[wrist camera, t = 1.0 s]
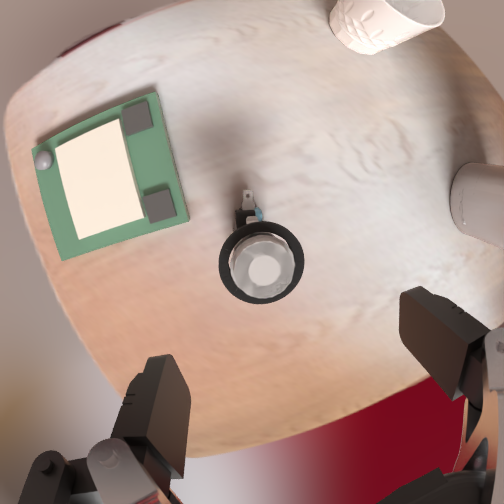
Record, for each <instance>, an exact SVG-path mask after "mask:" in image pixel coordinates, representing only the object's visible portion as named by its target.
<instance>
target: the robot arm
mask: <svg viewBox="0 0 504 504" xmlns="http://www.w3.org/2000/svg"><path fill="white" fill-rule="evenodd" d="M450 206H451V213H452V217H453V220H454V222H455V224H456V226H457V228H458V229H459V230H460V231H461V232H462V233H464V234H467V235H469V236H472V237H474V238H477V239H480V240H482V241H484V242H487V243H489V244H492V245H494V246H496V247H499V248H501V249H504V166H499V165H492V164H482V163H467V164H465V165H463V166H462V167H461V168H460V169H459V171H458V172H457V174H456V176H455V179H454V181H453V185H452V189H451V197H450ZM399 334H400V338H401V340H402V342H403V344H404V345H405V347H406V348H407V349H408V350H409V351H410V352H411V353H412V354H413V356H414V357H415V358H416V359H417V360H418V361H419V362H420V364H421V365H422V366H423V367H424V368H425V369H426V370H427V372H428V373H429V374H430V375H431V376H432V377H433V379H434V380H435V381H436V382H437V383H438V384H439V386H440V387H441V388H442V389H443V391H444V392H445V393H446V394H447V395H448V397H449V398H450V399H451V400H452V401H453V400H455V399H456V398H458V397H460V396H461V395H463V394H464V395H465V396H466V397H467V398H466V401H465V406H464V420H463V432H462V440H461V448H460V452H459V455H458V458H457V461H456V463H455V466H454V469H453V472H452V473H447V474H444V475H443V474H442V472H441V470H440V469H439V467H438V468H436V469H435V470H433V471H431V472H429V473H427V474H426V475H424V476H422V477H420V478H418V479H416V480H414V481H412V482H410V483H408V484H406V485H403V486H401V487H399V488H398V489H397V490H395V491H394V492H393V493H391V494H390V495H388V496H387V497H385V498H384V499H382V500H381V501H379V502H378V503H376V504H504V328H497V329H494V330H490V329H488V328H487V327H486V326H484V325H483V324H482V323H481V322H479V321H478V320H477V319H475V318H474V317H473V316H471V315H470V314H468V313H467V312H464V310H463V309H462V308H460V307H459V306H458V307H457V305H456V304H455V303H453V302H452V301H450V300H449V299H448V298H445V297H442V296H439V295H436V294H434V295H433V294H432V293H430V292H429V291H428V290H426V289H425V288H423V287H422V286H418V287H415V288H413V289H410V290H407V291H405V292H402V293H401V295H400V308H399ZM122 404H123V406H121V408H120V411H119V414H118V417H117V420H116V422H115V425H114V428H113V432H112V434H111V437H110V438H109V439H105V440H102V441H100V442H98V443H97V444H96V445H94V446H93V447H92V449H91V450H90V451H89V453H88V456H87V457H86V458H81V459H76V460H71V461H67V460H66V459H65V458H64V457H63V456H62V455H61V454H60V453H59V452H57V451H52V450H50V451H46V452H44V453H42V454H40V455H39V456H38V457H37V458H36V459H35V461H34V462H33V464H32V467H31V469H30V472H29V474H28V477H27V480H26V482H25V485H24V488H23V491H22V494H21V496H20V500H19V502H18V504H183V503H182V502H181V500H180V499H179V498H178V497H177V496H176V494H175V493H174V492H173V491H172V490H171V489H170V481H171V479H183V476H184V466H185V455H186V445H187V435H188V426H189V416H190V408H191V395H190V391H189V388H188V386H187V384H186V382H185V380H184V378H183V376H182V374H181V372H180V370H179V368H178V366H177V364H176V362H175V360H174V358H173V356H172V355H171V354H167V355H161V356H155V357H149V358H148V360H147V363H146V366H145V368H144V371H143V373H138V374H137V376H136V377H135V378H134V379H133V380H132V381H131V383H130V384H129V387H128V389H127V392H126V397H124V400H123V403H122Z"/></svg>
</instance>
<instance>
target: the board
mask: <svg viewBox="0 0 504 504" xmlns="http://www.w3.org/2000/svg"><path fill="white" fill-rule="evenodd" d="M32 154H33V160H34V165H35V170H36V175H37V179H38V184H39V188H40V192H41V196H42V200H43V204H44V207H45V211H46V215H47V218H48V221H49V225H50V228H51V231H52V234H53V237H54V240H55V243H56V246H57V249H58V252H59V255H60V257H61V260H62V261H64V260H67V259H70V258H73V257H76V256H79V255H82V254H85V253H88V252H91V251H94V250H97V249H100V248H103V247H106V246H109V245H112V244H115V243H118V242H122V241H125V240H128V239H131V238H134V237H138V236H141V235H144V234H148V233H151V232H154V231H158V230H161V229H164V228H168V227H171V226H175V225H178V224H182V223H185V222H189V220H190V216H189V213H188V209H187V206H186V202H185V199H184V195H183V192H182V188H181V184H180V181H179V177H178V173H177V169H176V166H175V162H174V158H173V154H172V150H171V146H170V142H169V138H168V134H167V130H166V126H165V122H164V117H163V113H162V109H161V104H160V100H159V96H158V94H157V93H156V92H152V93H150V94H147V95H144V96H141V97H138V98H136V99H133V100H130V101H128V102H125V103H123V104H120V105H118V106H115V107H113V108H111V109H108V110H106V111H104V112H101V113H99V114H97V115H95V116H93V117H90V118H88V119H86V120H84V121H82V122H80V123H78V124H76V125H74V126H72V127H70V128H68V129H66V130H64V131H62V132H61V133H59V134H57V135H55V136H53V137H51V138H50V139H48V140H46V141H44V142H43V143H41V144H39V145H38V146H36V147H34V148H33V149H32Z"/></svg>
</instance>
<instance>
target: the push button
mask: <svg viewBox="0 0 504 504" xmlns="http://www.w3.org/2000/svg"><path fill="white" fill-rule="evenodd" d="M247 194H250V196H249V197H248V198H247V197H246V195H247ZM235 212H236V225H237V230H235V231H234V229H233V233H232V234H231V235H230V236H229V237H228V238H227V240H226V241H225V243H224V244H223V246H222V249H221V252H220V255H219V273H220V277H221V280H222V282H223V284H224V285H225V287H226V288H227V290H228V291H229V292H230V293H231V294H232V295H234V296H235V297H237V298H238V299H240V300H242V301H245V302H248V303H252V304H267V303H272V302H275V301H277V300H280V299H282V298H283V297H285V296H286V295H288V294H289V293H290V292H291V291H292V290H293V289H294V288H295V287H296V285H297V284H298V282H299V281H300V279H301V276H302V273H303V270H304V253H303V250H302V247H301V245H300V243H299V241H298V240H297V238H296V237H295V236H294V235H293V234H292V233H291V232H290V231H289V230H288V229H286V228H285V227H283V226H281V225H279V224H276V223H273V222H267V221H262V211H261V210H260V209H259V208H255V203H254V202H253V191H252V190H251V189H249V190H243V202H242V209H239V210H237V211H235ZM271 233H273V234H276V235H278V236H280V237H282V238H283V239H284V240H286V242H287V244H288V246H289V247H288V246H287V244H286V243H285V242H283V241H282V240H280V239H278V238H276V237H275V236H274V235H273V234H271ZM234 246H235V248H234ZM233 248H234V252H233V256H232V259H231V262H230V267H231V270H230V267H229V264H228V261H229V257H230V254H231V251H232V250H233Z"/></svg>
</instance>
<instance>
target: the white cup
mask: <svg viewBox="0 0 504 504" xmlns="http://www.w3.org/2000/svg"><path fill="white" fill-rule="evenodd" d="M444 19H445V9H444V5H443V2H442V0H338V1H337V3H336V5H335V7H334V8H333V10H332V11H331V13H330V21H329V25H330V27H331V29H332V31H333V33H334V35H335V37H336V38H338V39H339V40H340V41H341V42H342V43H343V44H344V45H345V46H346V47H348V48H350V49H352V50H354V51H356V52H358V53H362V54H370V55H373V54H375V53H378V52H380V51H383V50H385V49H387V48H389V47H393V46H395V45H397V44H400V43H402V42H404V41H406V40H408V39H411V38H413V37H415V36H417V35H419V34H421V33H424V32H426V31H428V30H430V29H433V28H435V27H438V26H440V25H441V24H442V23H443V21H444Z"/></svg>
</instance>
